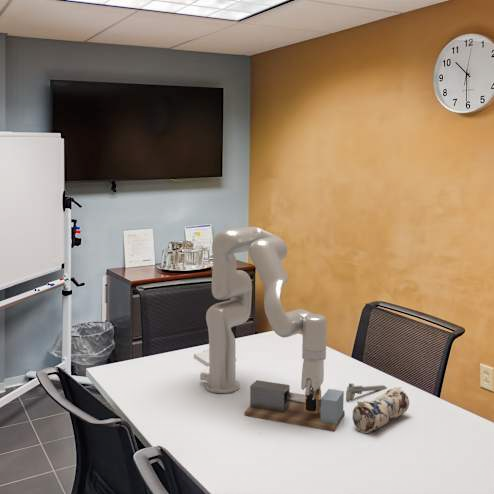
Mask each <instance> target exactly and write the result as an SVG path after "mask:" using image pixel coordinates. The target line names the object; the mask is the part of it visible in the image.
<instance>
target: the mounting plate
mask: <svg viewBox="0 0 494 494" xmlns="http://www.w3.org/2000/svg"><path fill="white" fill-rule="evenodd" d="M193 358H195V360H197V361H199V362H200V363H201V364H203V365H205V366H206V367H207V368H208V367H209V349H203V350H202V352H198V353H194V354H193ZM235 362H237V357H236V356H235Z"/></svg>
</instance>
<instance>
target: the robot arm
mask: <svg viewBox="0 0 494 494" xmlns="http://www.w3.org/2000/svg"><path fill="white" fill-rule="evenodd" d="M211 251H212V253H211V254H212V271H211V272H212V273H211V294H212V296H213V298H214V299H216V300H219V301H222V302H217V303H214V304H213V305H211V306H210V307H209V308H208V309H207V311H206V313H205V320H206V325H207V329H208V330H207V331H208V346H209V347H208V350H209V366H208V367H209V368H208V370H209V371H208V372H209V373H207V372H200V375H199V377H200V378H199V379H200V380H201V381H206V382H205V384H204V386H205V387H204V388H205V389H206V390H207V391H208V392H210V393H215V394H229V393H234V392H236V391H238V390H239V389H240V387H241V385H240V382H239V381H238V380H236V361H235V357H236V338H235V334H234V333H233V331H232V328H233V327H235V326H240V325H242V324H244V323H246V322H247V321H248V320H249V319H250V316H251V313H252V312H251V308H252V296H253V295H252V294H253V293H252V292H253V284H252V282H253V281H252V279H251V277H250V275H249V274H248V272H246V271H244V270H242V269H241V270H240V269H237V266H238V262H237V258H236V256H235V254H238V253H243V252H248V254H249V257H250V259H251V262H252V263H253V265H254V267H255V270H256V272H257V273H258V276H259V279H260V281H261V282H262V285H263V287H264V294H263V307H264V313H265V316H266V318H267V320H268V322H269V324H270V326H271V328H272V330H273V332H274V333H275V334H276V335H277V336H279V337H281V338H289V337H292V336H295V335H297V334H302V346H301V347H302V348H301V351H302V353H301V358H302V360H303V362H302V368H301V370H302V371H301V380H300V381H301V384H300V389H301V390H303V391H304V390H305V391H304V395H306V410H307V411H312V412H315V411H316V399H315V392H316V390H321V391H322V389H321V386H322V385H323V383H324V379H325V378H324V377H325V376H324V375H325V371H324V370H325V368H324V367H325V365H324V364H325V362H324V361H326V359H327V330H328V329H327V323H328V322H327V321H328V320H327V317H326V316H325V315H322V314H318V313H313V312H311V311H308V310H306V309H302V308H298V309H293V310H289V311H288V312H286V310H285V309H284V307H283V305H282V302H281V294H282V290H283V288H284V286H285V285H286V284H287V282H288V281H289V276H288V274H287V272H286V269H285V267H284V265H283V263H282V261H283V260H284V259H285V258H286V257H287V256H288V255H287V254H288V246H287V244H286V242H285V241H284V239H283V238H281V237H280V236H278V235H276V234H274V233H271V232H268V231H267V230H265V229H263V228H260V227H259V226H244V227H234V228H229V229H225V230H222V231H220V232H218V233H217V234H215V236H214V237H213V239H212V243H211ZM312 389H313V390H312ZM310 392H313V395H312V393H310Z"/></svg>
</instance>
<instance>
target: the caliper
mask: <svg viewBox="0 0 494 494" xmlns="http://www.w3.org/2000/svg"><path fill="white" fill-rule="evenodd" d="M382 389H383V390H385V389H388V386H386V385H384V384H380V385H379V384H378V385H366V386H364V385H355V384H354V383H352V382H351V383H350V382H349V383H348V386H347V387H346V391H345V401H346V402H350V401H354V399H355V395H356V394H358V395H362V393H363V392H371V391H382Z"/></svg>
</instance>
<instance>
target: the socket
mask: <svg viewBox="0 0 494 494" xmlns="http://www.w3.org/2000/svg"><path fill="white" fill-rule="evenodd" d="M344 392H345V391H344V390H339V389H332V388H328V389H327V390H326V392H325V393H324V394H323V395H322V396H321V397H322V398H321V421H320V422H326V423H332V424H337V422H338V420H339V419H340V417H341V416H342V414H343V411H344V399H345V398H344V395H345V393H344Z"/></svg>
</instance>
